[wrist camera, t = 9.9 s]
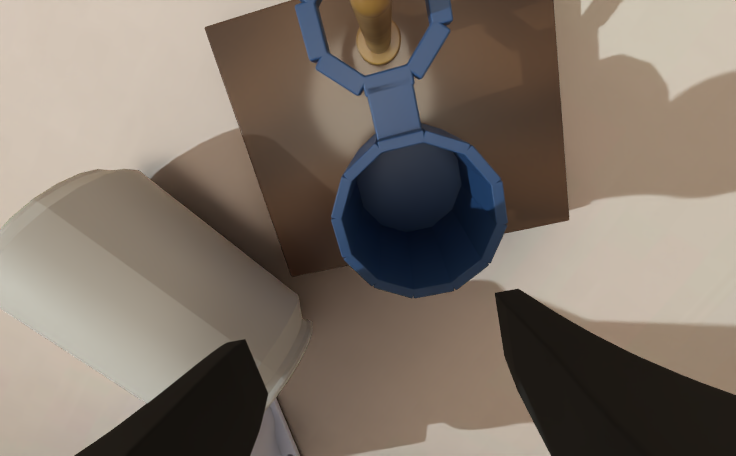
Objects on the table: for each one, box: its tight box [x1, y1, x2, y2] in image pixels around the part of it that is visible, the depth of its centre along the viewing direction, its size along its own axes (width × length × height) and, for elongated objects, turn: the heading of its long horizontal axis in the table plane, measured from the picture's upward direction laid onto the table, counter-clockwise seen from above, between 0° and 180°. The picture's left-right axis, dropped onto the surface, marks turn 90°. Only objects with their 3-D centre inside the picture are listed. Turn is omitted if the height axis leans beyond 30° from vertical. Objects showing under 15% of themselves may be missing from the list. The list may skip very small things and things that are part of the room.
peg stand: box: [205, 0, 569, 277], centre depth 13 cm, size 12×14×9 cm
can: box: [0, 169, 312, 412], centre depth 17 cm, size 8×8×12 cm
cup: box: [295, 0, 508, 298], centre depth 13 cm, size 11×5×6 cm, turn 14°
